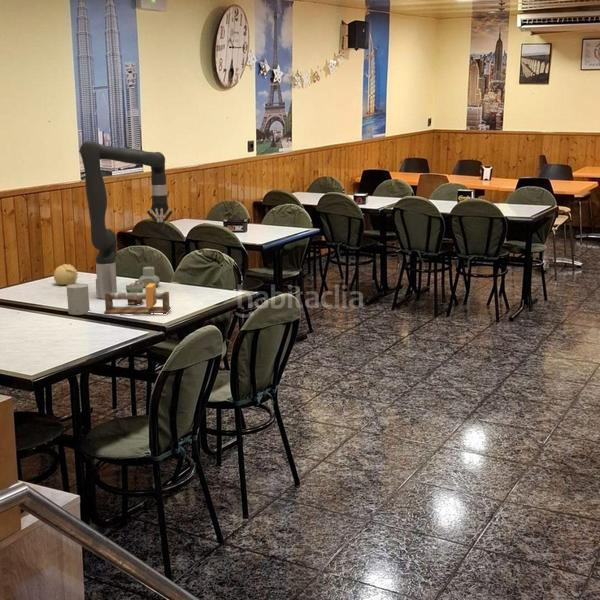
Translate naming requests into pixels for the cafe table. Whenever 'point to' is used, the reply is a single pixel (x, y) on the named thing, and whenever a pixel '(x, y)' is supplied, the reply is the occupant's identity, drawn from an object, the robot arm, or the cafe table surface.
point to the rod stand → (135, 310)
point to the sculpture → (65, 275)
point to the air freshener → (149, 276)
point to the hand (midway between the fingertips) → (160, 229)
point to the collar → (150, 295)
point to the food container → (135, 291)
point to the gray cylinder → (78, 299)
